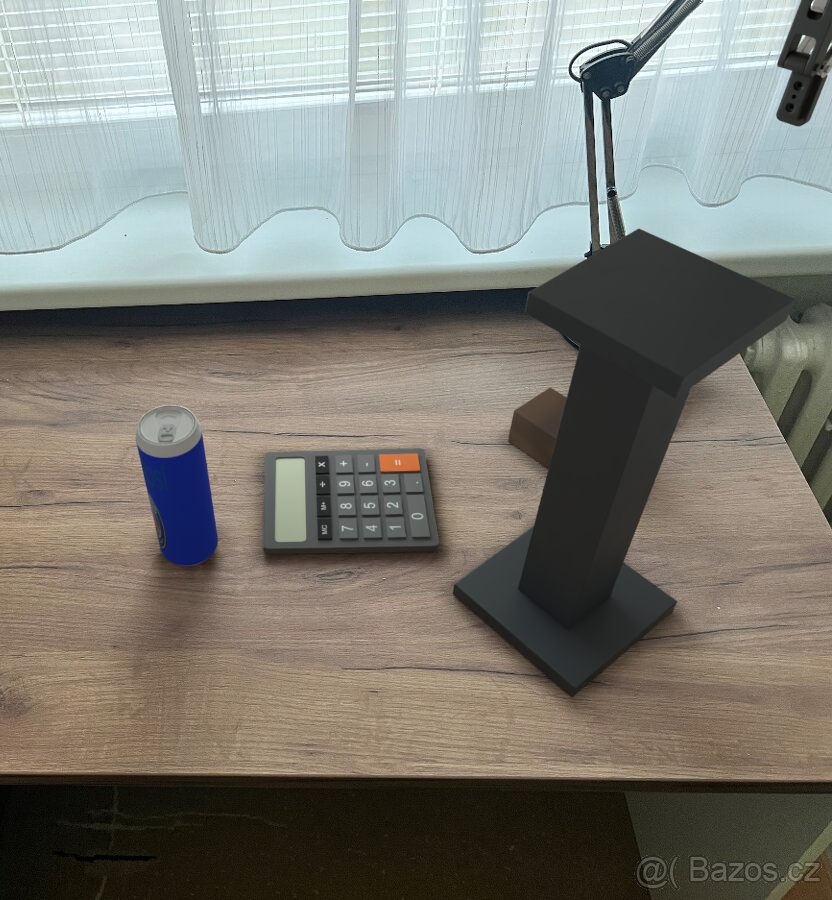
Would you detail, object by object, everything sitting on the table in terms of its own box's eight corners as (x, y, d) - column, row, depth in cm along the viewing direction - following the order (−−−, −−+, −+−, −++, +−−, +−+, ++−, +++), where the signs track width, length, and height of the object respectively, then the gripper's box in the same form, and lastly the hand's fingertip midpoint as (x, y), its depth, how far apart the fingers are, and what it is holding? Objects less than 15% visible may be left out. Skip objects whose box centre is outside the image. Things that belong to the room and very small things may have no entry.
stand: (672, 612, 69) (824, 299, 48) (571, 698, 65) (689, 396, 43) (550, 522, 76) (635, 215, 55) (452, 594, 72) (502, 291, 51)
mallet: (705, 396, 86) (718, 364, 83) (576, 488, 79) (585, 458, 76) (634, 356, 90) (644, 326, 88) (507, 441, 83) (513, 410, 81)
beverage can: (163, 525, 80) (137, 403, 69) (219, 523, 79) (202, 400, 68) (158, 570, 76) (129, 449, 65) (217, 569, 75) (198, 447, 65)
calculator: (439, 544, 74) (262, 547, 75) (438, 551, 75) (263, 553, 76) (424, 446, 82) (265, 450, 84) (423, 453, 83) (265, 457, 84)
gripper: (929, -112, 51) (819, 152, 62) (1044, -163, 56) (922, 89, 67) (802, -130, 55) (721, 119, 67) (920, -176, 60) (825, 63, 72)
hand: (822, 104), depth 67 cm, fingers open, 8 cm apart
